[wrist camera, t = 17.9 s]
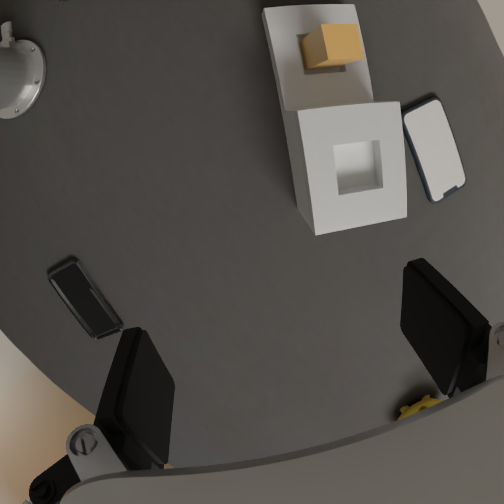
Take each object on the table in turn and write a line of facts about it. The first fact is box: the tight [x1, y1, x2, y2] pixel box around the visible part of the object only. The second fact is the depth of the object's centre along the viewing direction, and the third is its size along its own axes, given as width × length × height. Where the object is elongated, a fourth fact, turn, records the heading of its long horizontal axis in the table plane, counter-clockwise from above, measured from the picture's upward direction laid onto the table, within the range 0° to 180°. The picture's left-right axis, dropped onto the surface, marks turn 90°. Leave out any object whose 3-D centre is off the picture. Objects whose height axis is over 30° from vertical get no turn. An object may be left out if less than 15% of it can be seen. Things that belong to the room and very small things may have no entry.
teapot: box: [398, 394, 442, 420], centre depth 64 cm, size 20×16×14 cm
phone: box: [48, 259, 124, 340], centre depth 49 cm, size 8×1×15 cm
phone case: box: [401, 97, 466, 204], centre depth 42 cm, size 9×2×16 cm
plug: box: [299, 24, 364, 70], centre depth 30 cm, size 4×4×10 cm
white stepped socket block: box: [261, 4, 407, 235], centre depth 34 cm, size 28×12×10 cm, turn 11°
